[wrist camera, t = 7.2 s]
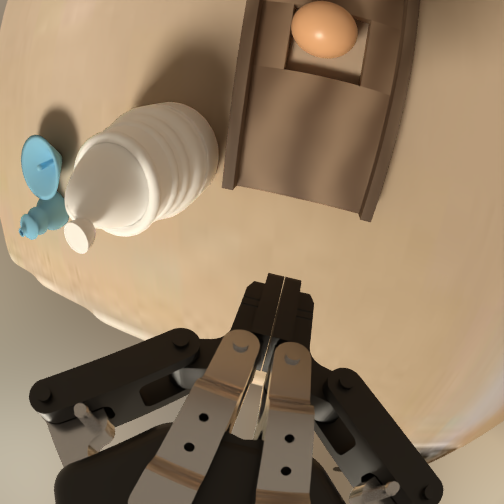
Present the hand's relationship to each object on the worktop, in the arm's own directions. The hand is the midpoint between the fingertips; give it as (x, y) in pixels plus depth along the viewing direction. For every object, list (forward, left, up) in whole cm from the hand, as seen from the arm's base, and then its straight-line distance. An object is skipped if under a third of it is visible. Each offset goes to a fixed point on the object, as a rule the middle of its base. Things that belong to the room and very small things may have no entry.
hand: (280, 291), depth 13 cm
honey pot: (+16, +1, -21) cm, 26 cm away
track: (0, -11, -20) cm, 23 cm away
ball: (+1, -15, -17) cm, 23 cm away
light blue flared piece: (+38, +7, -21) cm, 44 cm away
